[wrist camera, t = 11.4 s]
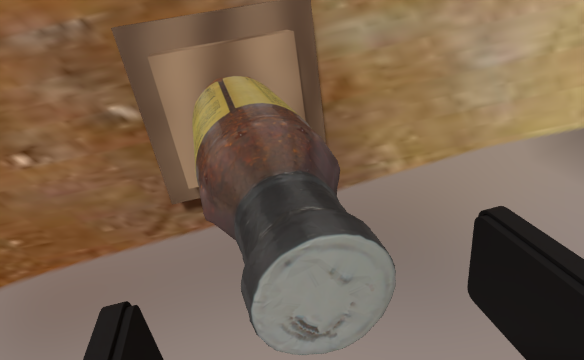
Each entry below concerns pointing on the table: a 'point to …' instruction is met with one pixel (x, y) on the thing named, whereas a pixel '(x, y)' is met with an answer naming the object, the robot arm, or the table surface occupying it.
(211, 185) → the sauce bottle
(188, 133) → the pedestal
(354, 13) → the table surface
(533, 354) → the robot arm
